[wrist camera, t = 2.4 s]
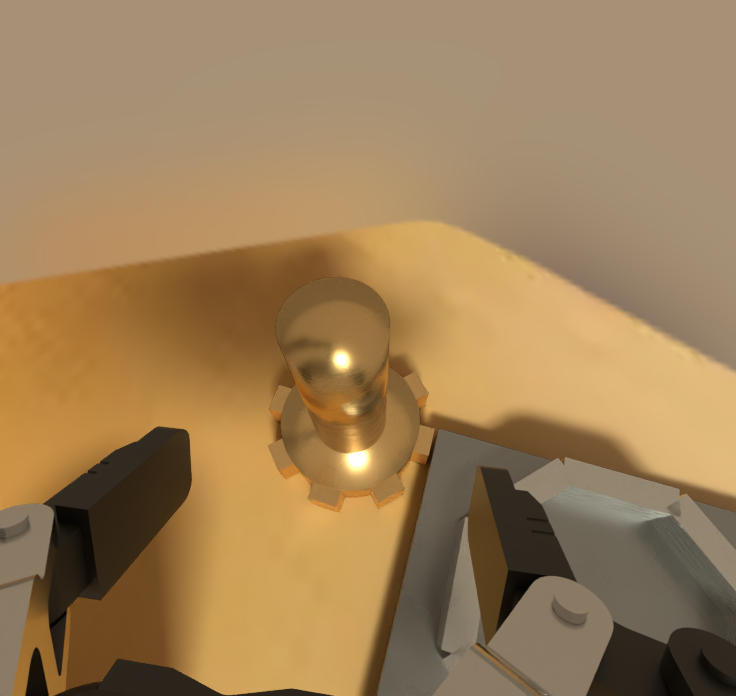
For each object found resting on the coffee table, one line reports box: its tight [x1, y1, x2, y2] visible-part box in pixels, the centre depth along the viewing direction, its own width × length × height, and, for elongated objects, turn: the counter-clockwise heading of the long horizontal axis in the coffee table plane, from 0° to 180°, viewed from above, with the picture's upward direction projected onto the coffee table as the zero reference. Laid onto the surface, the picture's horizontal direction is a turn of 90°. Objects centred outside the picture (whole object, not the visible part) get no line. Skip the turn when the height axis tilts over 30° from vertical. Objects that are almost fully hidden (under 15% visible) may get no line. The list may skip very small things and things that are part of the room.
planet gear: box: [268, 277, 435, 512], centre depth 18 cm, size 8×8×11 cm
